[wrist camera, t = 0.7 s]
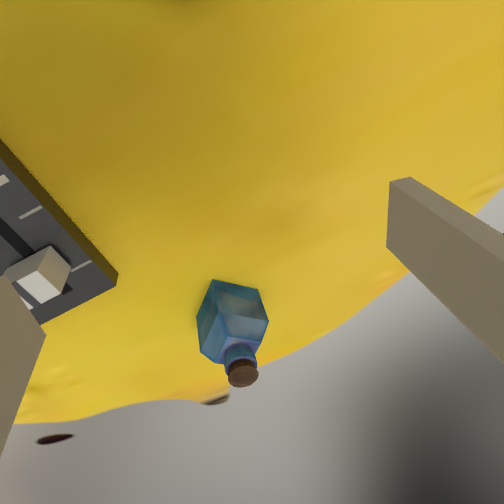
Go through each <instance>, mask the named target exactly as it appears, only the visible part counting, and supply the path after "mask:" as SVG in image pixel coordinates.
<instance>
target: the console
mask: <svg viewBox="0 0 504 504" xmlns="http://www.w3.org/2000/svg"><path fill="white" fill-rule="evenodd" d="M48 246H51V247H52V248H53V249H54V250H55V251H56V252H57V253H58V254H59V255H60V256H61V257H62V258H63V259H64V260H65V261H66V262H67V263H68V264H69V265H70V266H71V269H70V272H69V274H68V277H67V279H66V282H65V285H64V287H63V290H62V292H61V294H59V295H57V296H55V297H53V298H51V299H49V300H47V301H45V302H44V303H42V304H41V305H40V306H38V307H37V308H35V309H34V308H32V309H30V312H31V313H32V315H33V316H34V318H35V319H36V321H37V322H38V324H39V325H41V324H43V323H45V322H47V321H49V320H51V319H53V318H55V317H57V316H59V315H61V314H63V313H65V312H67V311H69V310H70V309H72V308H74V307H76V306H78V305H80V304H82V303H84V302H86V301H88V300H90V299H92V298H94V297H96V296H98V295H100V294H101V293H103V292H105V291H107V290H109V289H111V288H113V287H115V286H116V283H117V278H118V273H117V272H116V271H115V269H114V268H113V267H112V266H111V265H110V264H109V263H108V261H107V260H106V259H105V258H104V257H103V256H102V255H101V253H100V252H99V251H98V250H97V249H96V248H95V247H94V245H93V244H92V243H91V242H90V241H89V240H88V239H87V237H86V236H85V235H84V234H83V233H82V232H81V231H80V230H79V228H78V227H77V226H76V225H75V224H74V223H73V222H72V220H71V219H70V218H69V217H68V216H67V215H66V214H65V212H64V211H63V210H62V209H61V208H60V207H59V206H58V204H57V203H56V202H55V201H54V200H53V199H52V198H51V196H50V195H49V194H48V193H47V192H46V191H45V190H44V189H43V187H42V186H41V185H40V184H39V183H38V182H37V181H36V179H35V178H34V177H33V176H32V175H31V174H30V173H29V171H28V170H27V169H26V168H25V167H24V166H23V165H22V163H21V162H20V161H19V160H18V159H17V158H16V157H15V155H14V154H13V153H12V152H11V151H10V150H9V149H8V148H7V146H6V145H5V144H4V143H3V142H2V141H1V140H0V276H2V275H3V274H4V272H5V271H6V269H7V268H9V267H11V266H12V265H14V264H16V263H18V262H20V261H22V260H24V259H26V258H28V257H29V256H31V255H33V254H35V253H37V252H39V251H41V250H43V249H44V248H46V247H48Z"/></svg>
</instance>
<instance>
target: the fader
mask: <svg viewBox="0 0 504 504" xmlns="http://www.w3.org/2000/svg"><path fill="white" fill-rule="evenodd" d="M70 269H71V266H70V265H69V264H68V263H67V262H66V261H65V260H64V259H63V258H62V257H61V256H60V255H59V254H58V253H57V252H56V251H55V250H54V249H53V248H52V247H51V246H48V247H46V248H44V249H43V250H41V251H39V252H37V253H35V254H33V255H31V256H29V257H28V258H26V259H24V260H22V261H20V262H18V263H16V264H14V265H12V266H11V267H9V268H7V269H6V271H5V272H4V274H3V275H2V276H5V275H6V277H7V278H8V280H9V281H10V283H11V284H12V285H13V287H14V288H15V290H16V291H17V293H18V294H19V296H20V297H21V299H22V300H23V302H24V303H25V305H26V306H27V307H28V309H29V310H30V309H32V308H34V309H35V308H37V307H38V306H40V305H41V304H42V303H44V302H45V301H47V300H49V299H51V298H53V297H55V296H57V295H59V294H61V292H62V290H63V287H64V285H65V282H66V279H67V277H68V274H69V272H70Z"/></svg>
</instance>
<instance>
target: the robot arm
mask: <svg viewBox="0 0 504 504" xmlns="http://www.w3.org/2000/svg"><path fill="white" fill-rule="evenodd" d="M386 247H387V248H388V249H389V250H390V251H391V252H392V253H393V254H394V255H395V256H396V257H397V258H398V259H399V260H400V261H401V262H402V263H403V264H404V265H405V266H406V267H407V268H408V269H409V270H410V271H411V272H412V273H413V274H414V275H415V276H416V277H417V278H418V279H419V280H420V281H421V282H422V283H423V284H424V285H425V286H426V287H427V288H428V289H429V290H430V291H431V292H432V293H433V294H434V295H435V296H436V297H437V298H438V299H439V300H440V301H441V302H442V303H443V304H444V305H445V306H446V307H447V308H448V309H449V310H450V311H451V312H452V313H453V314H454V315H455V316H456V317H457V318H458V319H459V320H460V321H461V322H462V323H463V324H464V325H465V326H466V327H467V328H468V329H469V330H470V331H471V332H472V333H473V334H474V335H475V336H476V337H477V338H478V339H479V340H480V341H481V342H482V343H483V344H484V345H485V346H486V347H487V348H488V349H489V350H490V351H491V352H492V353H493V354H494V355H495V356H496V357H497V358H498V359H499V360H500V361H501V362H502V363H503V364H504V233H503V234H502V233H500V232H498V231H497V230H495V229H494V228H492V227H490V226H489V225H487V224H486V223H484V222H482V221H481V220H479V219H478V218H476V217H474V216H473V215H471V214H469V213H468V212H466V211H465V210H463V209H461V208H460V207H458V206H457V205H455V204H453V203H452V202H450V201H449V200H447V199H445V198H444V197H442V196H441V195H439V194H437V193H436V192H434V191H432V190H431V189H429V188H428V187H426V186H424V185H423V184H421V183H420V182H418V181H416V180H415V179H413V178H412V177H406V178H402V179H398V180H394V181H390V185H389V204H388V222H387V241H386ZM45 337H46V334H45V332H44V331H43V329H42V328H41V326H40V325H39V324H38V322H37V321H36V319H35V318H34V316H33V315H32V313H31V312H30V310H29V309H28V307H27V306H26V305H25V303H24V302H23V300H22V299H21V297H20V296H19V294H18V293H17V291H16V290H15V288H14V287H13V285H12V284H11V283H10V281H9V280H8V278H7V277H6V275H5V276H0V457H1V454H2V451H3V449H4V446H5V443H6V440H7V438H8V435H9V433H10V430H11V427H12V425H13V422H14V419H15V417H16V414H17V411H18V409H19V406H20V403H21V401H22V398H23V396H24V393H25V390H26V388H27V385H28V382H29V380H30V377H31V374H32V372H33V369H34V366H35V364H36V361H37V358H38V356H39V353H40V350H41V348H42V345H43V342H44V340H45Z"/></svg>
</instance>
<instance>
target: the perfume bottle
mask: <svg viewBox="0 0 504 504" xmlns="http://www.w3.org/2000/svg"><path fill="white" fill-rule="evenodd" d="M196 318H197V327H198V337H199V346H200V352H201V353H202V354H203V355H205V356H206V357H207V358H209V359H210V360H211V361H213V362H214V363H217V364H224V366H225V372H226V374H227V375H228V381H229V383H230V384H231V385H232V386H234V387H246V386H249V385H251V384H253V383H254V382H255V381H256V380H257V378H258V371H257V361H256V357H255V353H256V351H257V350H258V348H259V346H260V344H261V342H262V339H263V337H264V334H265V331H266V328H267V325H268V323H269V320H268V317H267V315H266V312H265V309H264V306H263V303H262V300H261V298H260V295H259V292H258V289H254V288H249V287H245V286H241V285H236V284H232V283H227V282H223V281H218V280H214V279H212V282H211V284H210V286H209V289H208V291H207V293H206V296H205V298H204V300H203V303H202V305H201V307H200V310H199V312H198V314H197V317H196Z"/></svg>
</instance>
